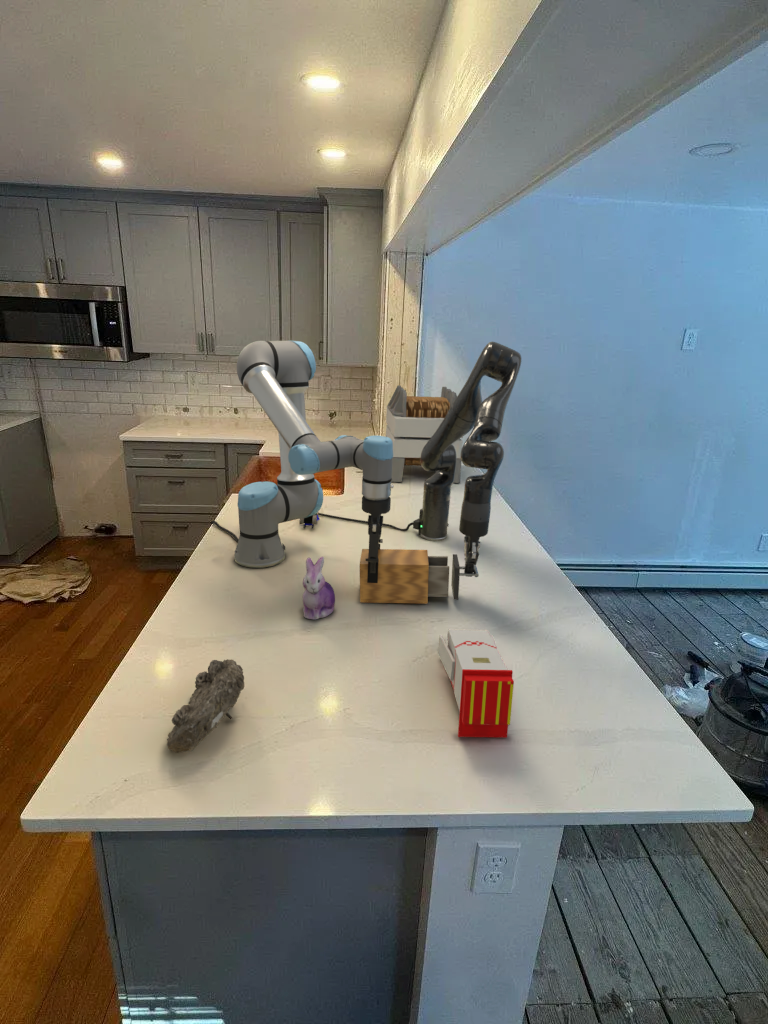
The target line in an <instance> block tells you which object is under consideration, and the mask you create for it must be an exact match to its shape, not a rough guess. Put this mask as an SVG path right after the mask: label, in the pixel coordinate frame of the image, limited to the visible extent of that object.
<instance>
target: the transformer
mask: <svg viewBox="0 0 768 1024" xmlns="http://www.w3.org/2000/svg"><path fill="white" fill-rule="evenodd" d="M440 393H441V394H440V396H415V395H414V396H413V395H412V396H411V395H407V394H408V393H407V390H406V389H404V388H403V387H402V385H399V384H398V385H397V386H396V388H395V390H394V392H393V394H392V395H391V398H390V400H389V402H388V404H387V405H386V413H385V414H386V415H385V423H386V428H385V437H388V438H390V439H391V440H392V442H393V462H392V480H391V483H402V482H403V475H404V469H405V466H406V467H407V466H411V467H412V466H413V467H415V466H416V467H417V466H418V467H422V466H421V462H420V456H421V452H422V450H423V448H424V446H425V445H426V443H427V442H428V441H429V440H430V438H431V437H432V436H433V434H434V433H435V432H436V430H437V429H438V427H439V426H440V424H441V423H442V421H443V420H444V418H445V416H446V414H447V413H448V411H449V409H450V407H451V406H452V404H453V402H454V401H455V399H456V398H457V396H458V394H457V392H455V391H453V390H452V389H451V388H447V386H442V387H441V392H440ZM463 438H464V436H463V437H461V438H460V439H459V440H457V441H455V442H454V443H453V444H452V445H453V446H454V448H455V451H456V467H455V473H454V481H453V484H455V483H456V484H459V483H461V472H462V461H461V450H462V447H463V444H464V443H463V442H464V441H463V440H462V439H463Z"/></svg>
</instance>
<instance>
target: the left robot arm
mask: <svg viewBox="0 0 768 1024" xmlns="http://www.w3.org/2000/svg"><path fill="white" fill-rule="evenodd" d="M315 358H316V357H315V356H314V353H313V351H312V349H311V348H310V347H309V345H308V344H307V343H305V342H303V341H300V340H290V339H289V340H256V341H252V342H250V343H248V344H247V345H245V346H244V347H243V349H242V350H241V351H240V352H239V355H238V357H237V362H236V374H237V377H238V378H237V379H238V380H239V382H240V384H241V386H242V387H243V388H244V390H245V391H246V392H247V393H249V394H252V396H253V397H254V399H255V400H256V402H257V403H258V404H259V406H260V407H261V409H262V410H263V411H264V413H265V414H266V416H267V417H268V419H269V420H270V422H271V423H272V425H273V426H274V428H275V429H276V430H277V433H278V445H279V459H280V460H279V461H280V470H281V471H280V473H279V474H278V475H277V477H276V483H277V484H276V483H275V482H273V481H269V480H267V481H256V482H251V483H248V484H246V485H244V486H243V487H242V488H240V490H239V491H238V494H237V512H238V513H237V514H238V530H239V537H238V536H237V535H236V534H235V533H234V532H233V531H231V530H229V529H227V528H225V527H223V526H222V525H220V524H219V523H218V522H217V521H216V520H212V521H211V522H210V525H215V527H217V528H218V529H220V530H221V531H224V532H225V533H227V534H229V535H230V536H232V538H233V539H234V540H235V542H237V543H236V547H235V550H234V561H235V563H236V564H237V565H239V566H242V567H246V568H249V569H250V568H251V569H264V568H265V569H266V568H271V567H274V566H276V565H279V564H281V563H282V562H284V561H285V559H286V552H285V551H286V545H285V544H284V543H283V542H282V541H281V537H280V534H279V524H282V523H287V522H291V521H296V520H300V518H307V517H309V516H312V515H315V514H316V513H319V511H320V510H321V509H322V506H323V503H324V490H323V487H322V484H321V483H320V482H319V481H318V480H317V479H316V478H315V474H316V473H317V474H318V473H323V472H328V471H334V470H341V469H345V468H355V469H359V470H360V471H362V478H361V495H362V497H361V511H362V512H364V513H366V514H368V517H367V521H368V524H367V527H368V528H367V534H368V549H369V553H368V559H366V561H368V577H367V583H378V561H379V560H378V549H381V544H383V542H384V541H383V540H384V539H383V538H381V537H382V529H383V526H382V525H383V523H384V515H385V514H388V513H389V512H390V511H391V506H392V505H391V503H392V501H391V496H392V489H394V488H395V487H394V484H392V482H391V480H392V462H393V442H392V440H391V439H390V438H388V437H386V435H368V436H366V437H364V438H363V439H361V438H358V437H356V436H353V435H346V434H342V435H339V436H338V437H336V438H334V439H333V440H326V441H321V440H320V439H319V437H318V436H317V435H316V433H314V430H313V429H312V428H311V426H310V425H309V424H308V422H307V416H306V414H307V413H306V400H305V393H306V391H307V390H308V389H309V387H310V385H309V384H310V383H309V382H310V381H311V380H313V378H314V377H315V373H316V369H317V364H316V359H315Z"/></svg>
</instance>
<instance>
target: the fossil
mask: <svg viewBox="0 0 768 1024" xmlns="http://www.w3.org/2000/svg"><path fill="white" fill-rule="evenodd" d="M243 670H244V669H243V667H242V665H240V664H237V662H236V661H235V660H234V659H232V658H231V659H227V658H226V659H224V660H223V661H222V660H217V659H212V660H211V661H210V663H209V665H208V666H207V671H201V672H199V673H198V674H197V675H196V676H195V680H194V684H195V685H194V687H195V689H194V690H193V693H192V694H191V697H190V698H189V700H188V704H184V705H182V706H181V707H180V709H177V710H176V711H175V713H174V715H173V716H172V718H171V723H172V724H173V727H172V730H171V731H170V732H168V734H167V738H166V741H167V742H166V745H167V749H168V750H169V751H173V752H174V753H176V754H178V753H182V752H188V751H189V752H192V751H193V750H195V748H196V747H197V746H199V744H200V743H201V742H203V741H204V740H205V739H206V738H207V737H208V736H209V735H210V734H211V733H212V732H214V730H215V729H217V727H218V726H219V724H220V722H221V721H222V720H223V719H224V718H225V716H226V717H227V719H229V720H233V717H232V715H230V714H229V710H230V709H231V708H234V706H235V704H236V703H237V702H238V699H239V697H240V695H241V693H242V691H243V690H245V689H244V688H245V675H244V671H243Z"/></svg>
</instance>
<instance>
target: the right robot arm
mask: <svg viewBox="0 0 768 1024" xmlns="http://www.w3.org/2000/svg"><path fill="white" fill-rule="evenodd" d="M521 366H522V355H521V353H520V352H519V351H517V350H515V349H514V348H510V347H509V346H506V345H503V344H501V343H500V342H496V341H489V342H488V343H487V344H485V346H484V347H483V349H482V351H481V353H480V354H479V356H478V358H477V360H476V362H475V364H474V366H473V368H472V370H471V371H470V374H469V375H468V378H467V380H466V381H465V384H464V385H463V387H462V388H461V390H460V391H459V393H458V394H457V398H456V399H455V401H454V402H453V404H452V406H451V407H450V409H449V411H448V413H447V414H446V416H445V418H444V420H443V421H442V423H441V424H440V426H439V427H438V429H437V430H436V432H435V433H434V434H433V436H432V437H431V438H430V440H429V441H428V442H427V443H426V445H425V446H424V448H423V450H422V452H421V456H420V462H421V466H420V467H422V469H423V470H424V471H427V472H434V473H433V474H432V475H431V476H429V477H428V478H426V479H425V480H424V482H423V493H422V496H423V497H422V506H421V508H420V509H419V516H418V518H416V519H415V520H413V521H412V522H410V523H408V524H407V527H405V528H400V527H397V526H395V525H392V524H389V523H384V522H383V525H382V527H388V528H392V529H394V530H396V531H401V532H406V531H409V529H410V527H411V526H412V529H414V530H417V535H418V536H420V538H421V539H424V540H426V541H432V542H440V541H444V540H446V539H447V538H448V528H449V526H450V525H449V517H450V516H449V514H450V504H451V494H452V493H451V491H452V486H453V484H454V483H453V481H454V473H455V467H456V451H455V448H454V446H453V445H452V444H453V443H454V442H455V441H457V440H459V439H462V438H461V437H463V438H464V437H465V436H466V435H467V434H469V433H470V434H469V435H468V437H467V438H466V440H465V441H464V443H463V444H462V450H461V461H462V462H461V464H463V466H465V467H467V468H472V469H480V470H486V472H485V473H482V474H477V475H476V474H475V475H470V476H468V477H466V479H465V480H464V481H465V482H464V491H463V499H462V503H461V509H460V519H459V528H458V530H459V532H460V533H461V534H462V535H464V536H463V537H464V538H463V542H464V547H463V548H464V549H463V552H464V553H463V555H464V567H465V569H463V570H464V571H463V573H473V569H474V565H475V566H477V563H478V559H479V558H480V553H479V551H480V548H481V541H480V538H483V537H485V536H487V535H488V533H489V525H490V520H491V519H490V517H491V510H492V507H491V506H492V505H491V503H492V495H493V494H492V493H493V487H494V482H495V479H496V476H497V475H498V474H497V473H498V472H499V470H500V467H501V465H502V463H503V460H504V457H505V450H504V447H503V445H502V444H501V443H500V442H497V441H496V440H498V439H499V437H500V436H501V433H502V429H503V424H504V418H505V413H506V410H507V406H508V403H509V400H510V398H511V396H512V393H513V390H514V387H515V384H516V382H517V379H518V375H519V372H520V369H521ZM483 377H488V378H490V379H493V380H495V381H496V382H500V383H501V384H500V387H498V388H497V389H496V391H494V392H493V393H491V394H490V395H488V396H487V397H486V398H485V399H484V400H483V397H482V396H483V395H482V386H481V385H482V379H483ZM470 431H471V432H470ZM318 516H322V517H326V518H330V519H331V518H332V519H335V520H336V519H337V520H342V521H347V522H355V523H360V524H361V523H362V524H367V525H368V520H362V519H355V518H348V517H342V516H337V515H331V514H327V513H322V512H318ZM467 577H470V578H472V577H473V576H467Z"/></svg>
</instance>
